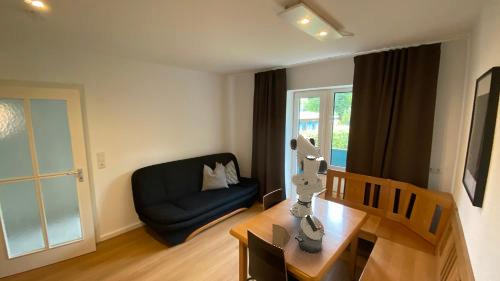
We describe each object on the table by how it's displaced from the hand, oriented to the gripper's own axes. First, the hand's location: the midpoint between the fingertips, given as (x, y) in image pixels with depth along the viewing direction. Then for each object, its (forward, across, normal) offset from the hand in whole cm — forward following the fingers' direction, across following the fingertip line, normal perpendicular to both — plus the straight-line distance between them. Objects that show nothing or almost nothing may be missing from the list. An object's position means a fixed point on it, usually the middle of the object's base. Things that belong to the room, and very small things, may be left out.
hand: (309, 199), depth 144 cm
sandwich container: (+34, +13, -13) cm, 38 cm away
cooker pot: (+33, 0, +2) cm, 33 cm away
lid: (+19, 0, +3) cm, 19 cm away
